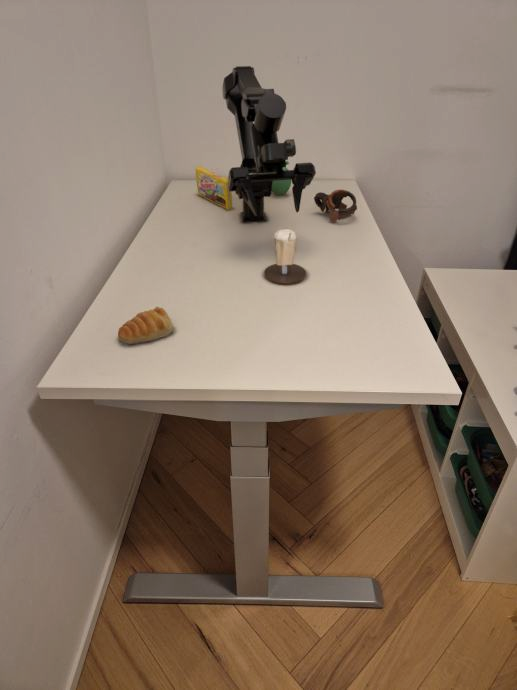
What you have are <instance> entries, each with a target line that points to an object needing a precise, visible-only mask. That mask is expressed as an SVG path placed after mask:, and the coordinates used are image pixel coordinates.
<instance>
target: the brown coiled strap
mask: <svg viewBox="0 0 517 690" xmlns="http://www.w3.org/2000/svg"><path fill="white" fill-rule="evenodd" d="M347 197H349V198H350V200H351V201H352V205H351V206H349V207H348V205H347V204H345V203H344V202H343V200H344V199H345V198H347ZM313 200H314V204H315V205H316V206H317V207H318V208H319V210H320V212H321V213H324V212H326V213H328V212H330V213H331V215H330V217H329V221H330V222H332V223H333V224H334V223H336V222H337V221H341V220H345V219H349V218H350V217H352V215H354V214H355V212H356V211H357V210H358V205H357V198H356V196H355V195H354V193H352V192H350V191H349V190H347V189H335V190H333V191H332V192H331V193H330V194H327V193H325V192H321V191H320V192H316V194H315V196H314V197H313Z"/></svg>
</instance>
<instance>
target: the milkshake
mask: <svg viewBox="0 0 517 690" xmlns="http://www.w3.org/2000/svg"><path fill="white" fill-rule="evenodd" d="M297 237H298V235H297V234H296V233H295V232H294V230H292V229H288V228H284V229H280V230H277V231H276V232H275V233H274V245H275V246H274V247H275V259H276V260H275V261H276V263H275V264H277V271H278V273H281V274H289V273H291V271H292V267H293V264H294V258H295V250H296V244H297Z"/></svg>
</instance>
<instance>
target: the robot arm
mask: <svg viewBox="0 0 517 690" xmlns="http://www.w3.org/2000/svg"><path fill="white" fill-rule="evenodd" d="M221 89H222V98H223V100H225V105H226V108H227V110H228V111H229V112H230V113H231V114H232V115H233V116H234V119H235V120H234V122H235V126H236V131H237V137H238V144H239V148H240V150H239V151H240V155H241V164H240V166H238V167H237V166H236V167H231V168H230V169H229V171H228V177H227V179H228V187H229V191H231V193H232V192H234V193H235V195H237V198H238V199H239V200H242V211H241V212H240V217H241V220H242V223H259V222H267V221H268V219H267V216H266V214H265V198H270V197H271V195H272V183H273V181H278V180H291V185H292V188H291V191H292V198H293V205H294V209H295V213H299V211H300V207H301V201H302V195H303V190H305V189H306V188H307V187H308V186H310V185H311V183H312V181H313V180H314V177H315V176H316V166H315V165H314V164H313V163H312V162H298V163H297V162H296V163H295V165H294V168H293V169H290V170H289V169H288V170H286V171H283V167H285V166H286V167H287V165H286V161H288V160H289V158H293V157H295V155H296V154H297V146H296V142H295V139H294V138H291V139H288V138H287V139H285V140H284V142H279V137H278V132H279V131H280V129H281V125H282V123H283V120H284V117H285V113H286V111H287V103H286V101H285V99H284V98H283V97H282V96H281V95H279V94H277V93H275V89H274V88H263V87H262V85H261V84H260V82H259V80H258V78H257V77H256V75H255V68H254V67H253V66H251V65H240V66H237V65H236V66H235V67H233V68H232V70H231V72H230V73H229V74H228V75H226V76H225V77H224V78H223V82H222V87H221Z"/></svg>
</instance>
